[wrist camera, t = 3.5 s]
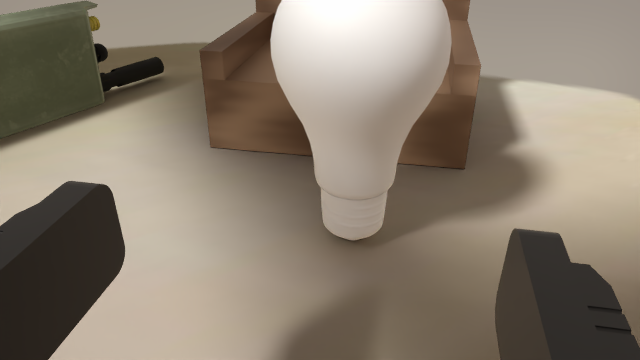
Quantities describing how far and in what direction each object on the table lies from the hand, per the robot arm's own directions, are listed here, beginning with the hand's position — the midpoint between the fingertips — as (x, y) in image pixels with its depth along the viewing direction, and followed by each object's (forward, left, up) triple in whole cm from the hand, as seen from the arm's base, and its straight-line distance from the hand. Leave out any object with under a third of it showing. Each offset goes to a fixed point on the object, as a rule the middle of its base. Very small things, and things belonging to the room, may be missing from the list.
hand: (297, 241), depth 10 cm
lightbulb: (0, +9, -7) cm, 12 cm away
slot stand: (-2, +21, -6) cm, 22 cm away
